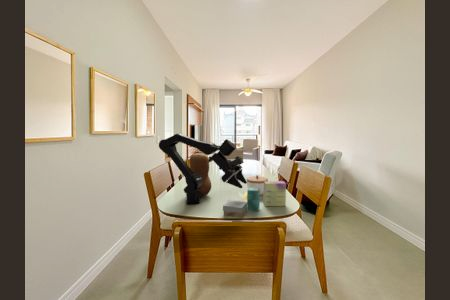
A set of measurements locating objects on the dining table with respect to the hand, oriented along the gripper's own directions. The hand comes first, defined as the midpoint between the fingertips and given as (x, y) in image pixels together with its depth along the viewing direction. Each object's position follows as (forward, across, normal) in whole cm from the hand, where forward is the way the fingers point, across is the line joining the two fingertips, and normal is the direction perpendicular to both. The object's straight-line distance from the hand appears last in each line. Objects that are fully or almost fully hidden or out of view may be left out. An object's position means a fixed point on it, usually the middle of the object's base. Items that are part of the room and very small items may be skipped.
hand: (244, 185), depth 114 cm
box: (+18, +10, -1) cm, 20 cm away
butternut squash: (-13, +12, +29) cm, 34 cm away
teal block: (+11, 0, +5) cm, 12 cm away
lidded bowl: (+9, +27, +7) cm, 30 cm away
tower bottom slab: (+7, -7, +10) cm, 14 cm away
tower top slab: (+5, -7, +8) cm, 12 cm away
